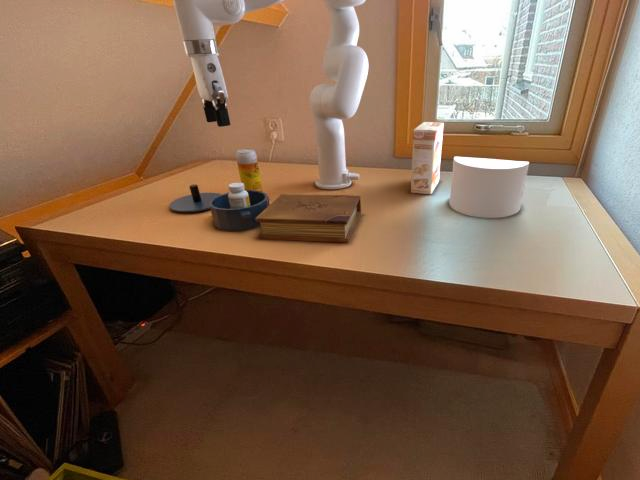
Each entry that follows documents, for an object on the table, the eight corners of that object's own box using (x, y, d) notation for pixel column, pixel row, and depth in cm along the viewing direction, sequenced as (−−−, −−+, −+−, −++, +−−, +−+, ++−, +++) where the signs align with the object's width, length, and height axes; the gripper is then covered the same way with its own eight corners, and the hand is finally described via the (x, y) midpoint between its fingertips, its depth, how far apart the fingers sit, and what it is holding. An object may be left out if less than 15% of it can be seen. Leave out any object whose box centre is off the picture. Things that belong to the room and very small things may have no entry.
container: (522, 197, 112) (532, 153, 106) (516, 222, 97) (526, 171, 90) (457, 190, 120) (461, 148, 113) (441, 212, 105) (445, 165, 98)
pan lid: (222, 192, 125) (218, 175, 122) (228, 208, 112) (224, 188, 109) (169, 201, 120) (164, 182, 116) (170, 218, 107) (164, 198, 104)
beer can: (258, 201, 117) (250, 153, 109) (241, 200, 118) (231, 152, 110) (266, 195, 122) (258, 148, 114) (249, 194, 123) (241, 148, 115)
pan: (262, 203, 115) (259, 184, 112) (279, 227, 99) (276, 206, 96) (210, 212, 110) (205, 193, 107) (219, 239, 93) (213, 217, 90)
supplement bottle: (240, 223, 101) (232, 189, 96) (229, 218, 104) (221, 185, 99) (256, 217, 104) (250, 183, 99) (245, 212, 107) (238, 180, 102)
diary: (361, 214, 105) (360, 194, 102) (348, 243, 89) (346, 221, 86) (284, 211, 109) (282, 192, 106) (259, 238, 93) (255, 217, 90)
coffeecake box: (431, 194, 117) (436, 130, 107) (409, 192, 120) (412, 129, 109) (440, 181, 129) (444, 121, 119) (420, 179, 131) (423, 121, 121)
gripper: (228, 48, 86) (243, 125, 95) (207, 49, 98) (222, 118, 107) (195, 49, 82) (214, 130, 91) (177, 50, 94) (195, 121, 103)
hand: (218, 123), depth 99 cm, fingers open, 9 cm apart
